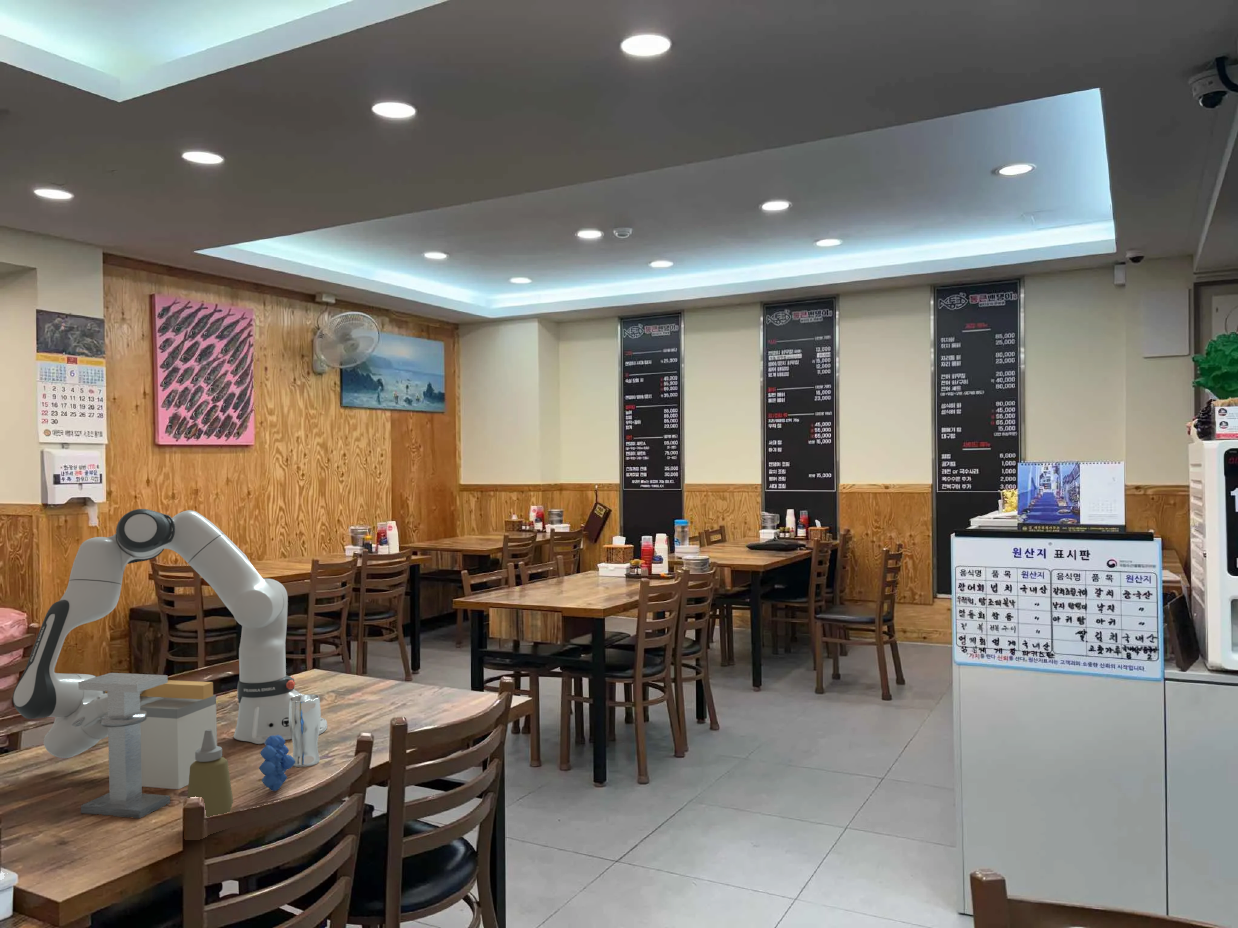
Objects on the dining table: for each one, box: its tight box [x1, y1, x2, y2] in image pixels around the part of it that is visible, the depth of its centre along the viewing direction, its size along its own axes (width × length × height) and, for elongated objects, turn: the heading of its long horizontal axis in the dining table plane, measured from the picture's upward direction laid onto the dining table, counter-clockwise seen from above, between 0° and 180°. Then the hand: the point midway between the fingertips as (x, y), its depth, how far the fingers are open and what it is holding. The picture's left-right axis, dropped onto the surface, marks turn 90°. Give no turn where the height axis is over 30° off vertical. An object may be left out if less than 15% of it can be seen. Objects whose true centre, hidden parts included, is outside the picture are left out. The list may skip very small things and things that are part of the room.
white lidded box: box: [140, 694, 218, 790], centre depth 195 cm, size 10×12×17 cm
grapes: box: [258, 735, 295, 792], centre depth 186 cm, size 12×7×12 cm, turn 2°
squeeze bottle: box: [186, 730, 234, 817], centre depth 168 cm, size 8×8×18 cm
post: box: [78, 672, 171, 819], centre depth 178 cm, size 14×8×26 cm, turn 76°
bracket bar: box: [140, 679, 214, 699], centre depth 195 cm, size 20×3×3 cm, turn 76°
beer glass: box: [289, 693, 322, 768], centre depth 203 cm, size 7×7×15 cm
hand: (149, 685), depth 197 cm, fingers closed on bracket bar, 3 cm apart
